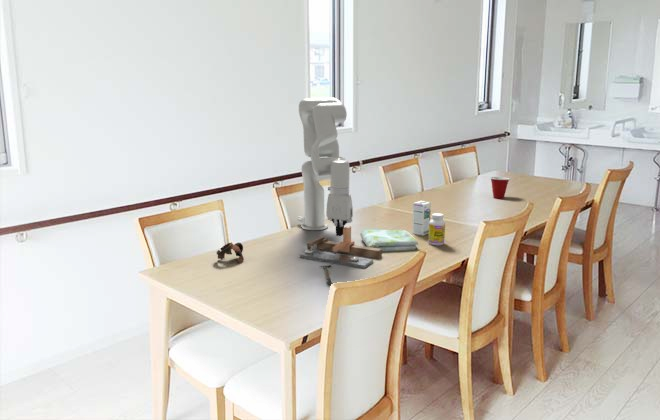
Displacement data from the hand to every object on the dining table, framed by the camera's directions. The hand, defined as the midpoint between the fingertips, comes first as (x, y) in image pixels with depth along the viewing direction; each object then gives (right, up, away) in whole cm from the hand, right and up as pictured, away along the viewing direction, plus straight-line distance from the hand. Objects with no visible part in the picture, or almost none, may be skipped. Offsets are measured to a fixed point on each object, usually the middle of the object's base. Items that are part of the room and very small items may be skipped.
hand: (339, 235), depth 236 cm
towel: (+21, -5, +10) cm, 24 cm away
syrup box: (+37, -1, +27) cm, 46 cm away
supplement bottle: (+41, -4, +11) cm, 43 cm away
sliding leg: (+1, -7, -4) cm, 8 cm away
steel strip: (-2, -9, -10) cm, 13 cm away
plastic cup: (+93, +17, +98) cm, 136 cm away
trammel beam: (+1, -8, -4) cm, 9 cm away
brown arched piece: (-42, -10, -9) cm, 44 cm away
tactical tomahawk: (-6, -14, -26) cm, 31 cm away
